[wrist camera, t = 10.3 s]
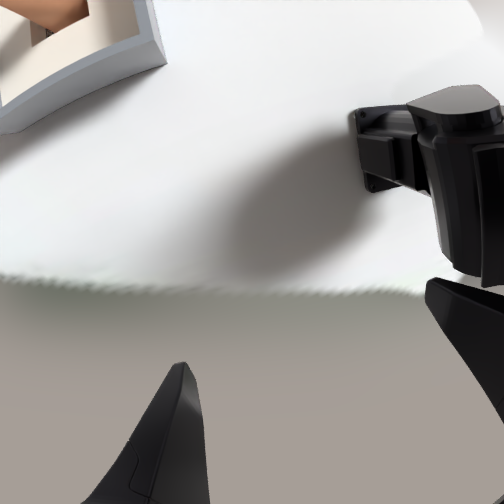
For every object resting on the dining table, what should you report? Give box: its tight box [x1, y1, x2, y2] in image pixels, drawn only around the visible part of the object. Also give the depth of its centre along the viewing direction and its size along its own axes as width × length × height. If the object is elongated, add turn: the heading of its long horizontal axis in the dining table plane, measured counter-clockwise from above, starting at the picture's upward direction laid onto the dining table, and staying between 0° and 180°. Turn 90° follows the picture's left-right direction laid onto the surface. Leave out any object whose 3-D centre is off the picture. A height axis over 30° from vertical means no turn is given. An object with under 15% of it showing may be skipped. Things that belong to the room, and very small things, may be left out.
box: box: [0, 0, 167, 135], centre depth 9 cm, size 12×14×6 cm
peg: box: [0, 0, 90, 33], centre depth 8 cm, size 3×3×8 cm
